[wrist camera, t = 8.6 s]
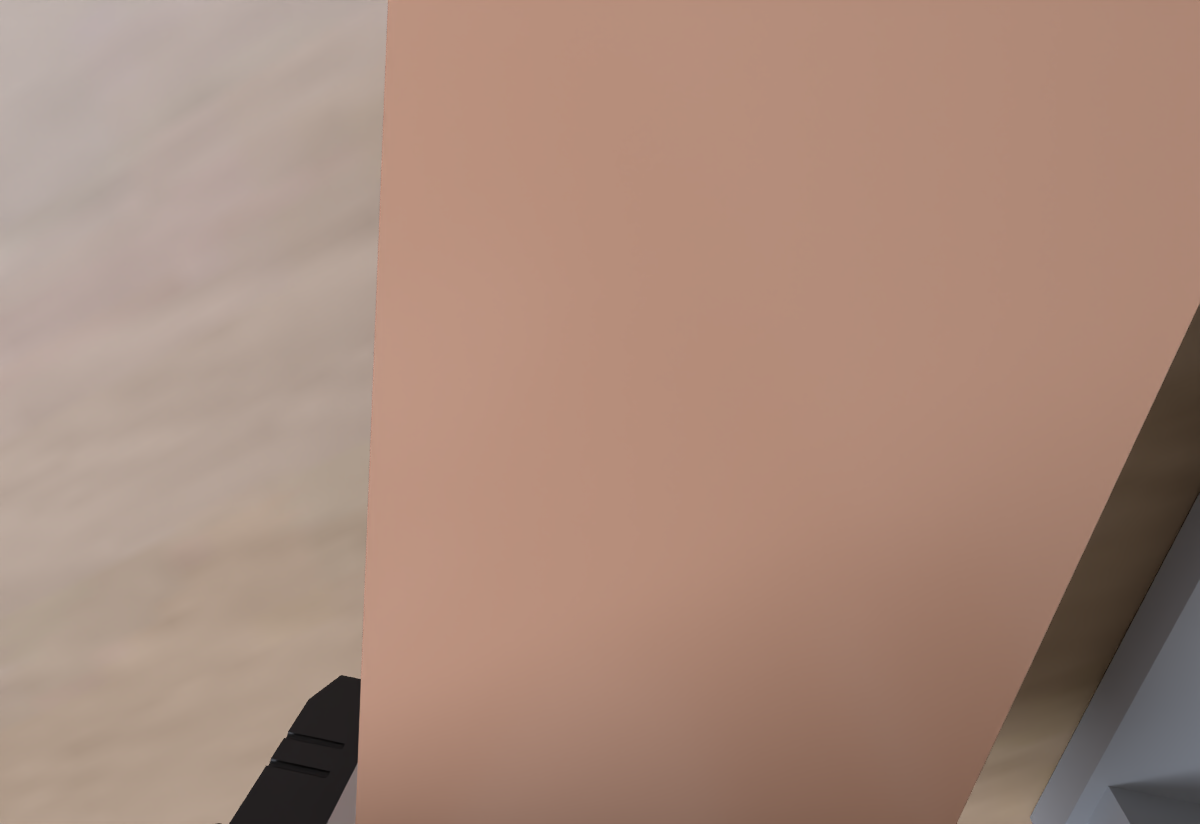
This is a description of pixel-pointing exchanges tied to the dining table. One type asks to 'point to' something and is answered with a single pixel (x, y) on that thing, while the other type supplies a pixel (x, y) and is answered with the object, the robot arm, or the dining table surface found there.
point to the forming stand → (1142, 713)
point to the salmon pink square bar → (751, 390)
